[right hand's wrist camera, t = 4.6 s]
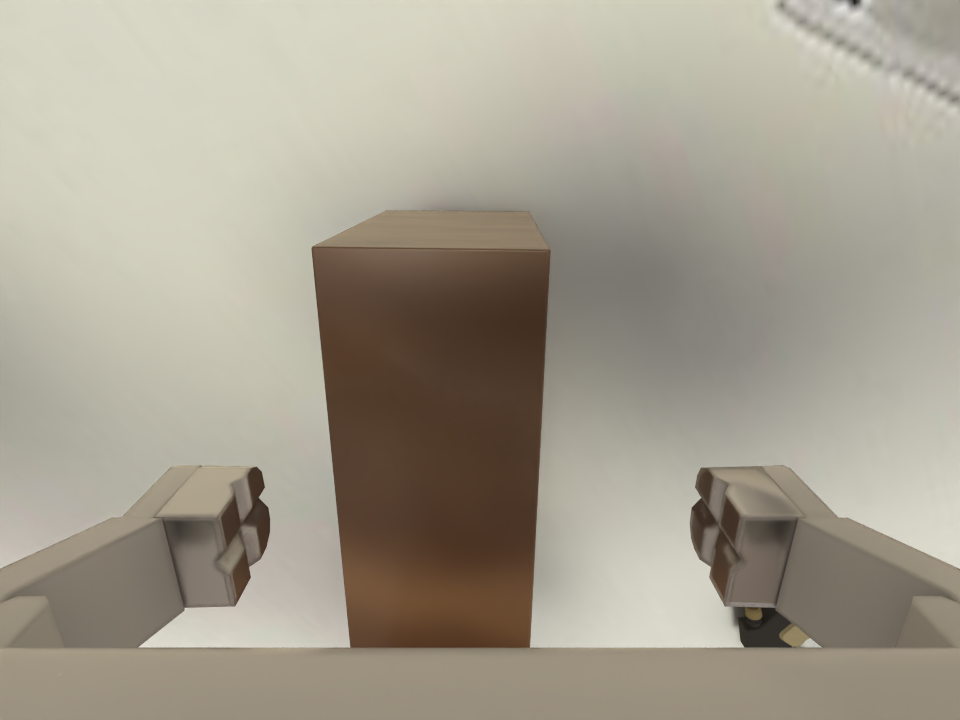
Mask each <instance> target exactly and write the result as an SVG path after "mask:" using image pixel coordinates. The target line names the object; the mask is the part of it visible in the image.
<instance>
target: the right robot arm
mask: <svg viewBox="0 0 960 720" xmlns="http://www.w3.org/2000/svg"><path fill="white" fill-rule="evenodd" d="M264 488H265V486H264V481H263V476H262V472H261V471H260V470H259V469H258V468H257V467H239V466H201V465H197V466H175V467H171V468H170V469H169V470H168V471H167V472H166V473H165V474H164V475H163V476H162V477H161V478H160V479H159V480H158V481H157V482H156V483H155V484H154V485H153V486H152V487H151V488H150V489H149V490H148V491H147V492H146V493H145V494H144V495H143V496H142V497H141V498H140V499H139V500H138V501H137V502H136V503H135V504H134V505H133V506H132V507H131V508H130V509H129V511H128V512H127V513H126V514H125V515H124V516H123V517H122V518H111V519H109V520H107V521H104V522H102V523H100V524H98V525H96V526H93V527H91V528H89V529H87V530H85V531H82V532H80V533H78V534H76V535H74V536H71V537H69V538H67V539H65V540H63V541H60V542H58V543H56V544H54V545H52V546H49V547H47V548H45V549H43V550H41V551H38V552H36V553H34V554H32V555H30V556H27V557H25V558H23V559H21V560H19V561H16V562H14V563H12V564H10V565H8V566H5V567H3V568H1V569H0V720H960V569H959V568H956V567H954V566H952V565H950V564H948V563H945V562H943V561H941V560H939V559H937V558H934V557H932V556H930V555H928V554H926V553H924V552H921V551H919V550H917V549H915V548H913V547H910V546H908V545H906V544H904V543H902V542H899V541H897V540H895V539H893V538H891V537H888V536H886V535H884V534H882V533H880V532H878V531H875V530H873V529H871V528H869V527H867V526H864V525H862V524H860V523H858V522H856V521H853V520H851V519H849V518H838V517H837V516H836V515H835V514H834V513H833V512H832V510H831V509H830V508H829V507H828V506H827V505H826V504H825V503H824V502H823V501H822V500H821V499H820V498H819V497H818V496H817V495H816V494H815V493H814V492H813V491H812V490H811V489H810V488H809V487H808V486H807V485H806V484H805V483H804V482H803V481H802V480H801V479H800V478H799V477H798V476H797V475H796V474H795V473H794V472H793V470H792V469H791V468H789V467H786V466H784V465H775V466H750V467H710V468H701V469H700V471H699V473H698V475H697V480H696V486H695V488H696V489H697V491H698V493H699V494H700V496H701V499H700V500H699V501H698V502H697V503H696V504H695V505H694V506H693V507H692V510H691V518H690V531H691V539H692V543H693V546H694V549H695V551H696V553H697V555H698V557H699V559H700V560H701V561H703V562H704V563H706V564H707V565H709V566H710V567H711V571H710V576H709V578H710V580H711V582H712V583H713V585H714V587H715V589H716V591H717V593H718V594H719V596H720V598H721V600H722V602H723V604H724V605H725V606H732V607H769V608H776V609H775V610H776V611H777V612H779V613H780V614H781V615H782V616H784V617H785V618H786V619H787V620H789V621H790V622H791V623H792V624H794V625H795V626H796V627H797V628H799V629H800V630H801V631H802V632H804V633H805V634H806V635H807V636H809V637H810V638H811V639H812V640H814V641H815V642H816V643H817V644H819V645H820V646H821V647H822V648H138V647H139V646H140V645H141V644H143V643H144V642H145V641H146V640H148V639H149V638H150V637H152V636H153V635H154V634H155V633H157V632H158V631H159V630H160V629H162V628H163V627H164V626H165V625H167V624H168V623H169V622H170V621H172V620H173V619H174V618H175V617H177V616H178V615H179V614H180V613H182V612H183V611H184V608H191V607H226V606H236V604H237V602H238V600H239V598H240V596H241V594H242V593H243V591H244V589H245V587H246V585H247V583H248V581H249V580H250V578H251V576H250V571H249V567H250V566H251V565H253V564H254V563H256V562H257V561H259V560H260V559H261V557H262V555H263V553H264V551H265V549H266V546H267V542H268V538H269V533H270V516H269V510H268V507H267V506H266V505H265V504H264V503H263V502H262V501H261V500H260V499H259V496H260V494H261V493H262V491H263V489H264Z"/></svg>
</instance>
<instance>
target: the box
mask: <svg viewBox="0 0 960 720" xmlns="http://www.w3.org/2000/svg"><path fill="white" fill-rule="evenodd" d="M312 257H313V268H314V278H315V288H316V299H317V309H318V319H319V329H320V340H321V350H322V360H323V370H324V381H325V391H326V401H327V411H328V422H329V432H330V442H331V453H332V463H333V473H334V483H335V494H336V504H337V514H338V524H339V535H340V545H341V555H342V565H343V576H344V586H345V596H346V606H347V617H348V627H349V637H350V648H530V637H531V617H532V598H533V579H534V559H535V540H536V521H537V501H538V482H539V463H540V443H541V424H542V405H543V385H544V366H545V347H546V327H547V308H548V289H549V269H550V249H549V247H548V246H547V244H546V242H545V240H544V238H543V236H542V234H541V233H540V231H539V229H538V227H537V225H536V223H535V221H534V220H533V218H532V216H531V214H530V212H505V211H414V210H387V211H384V212H382V213H380V214H378V215H376V216H374V217H372V218H370V219H368V220H366V221H364V222H362V223H360V224H358V225H356V226H354V227H352V228H350V229H348V230H346V231H344V232H342V233H339V234H337V235H335V236H333V237H331V238H329V239H327V240H325V241H323V242H321V243H319V244H317V245H315V246H313V247H312Z"/></svg>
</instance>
